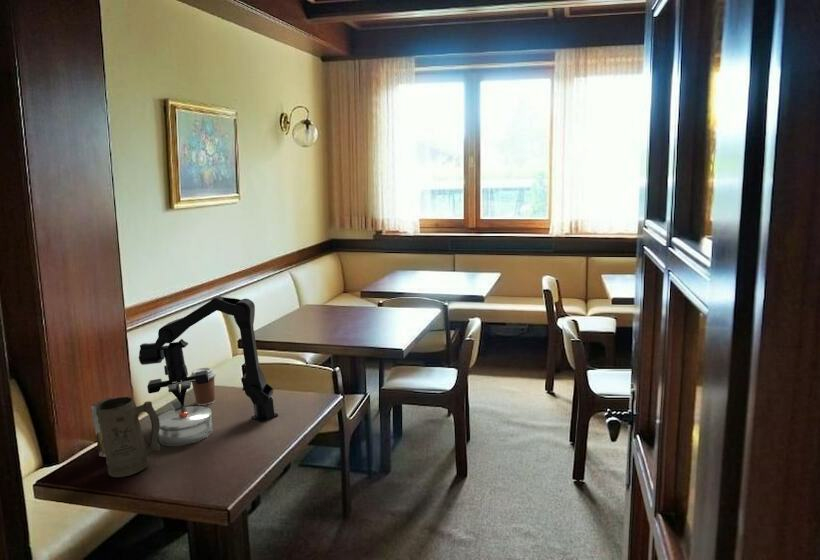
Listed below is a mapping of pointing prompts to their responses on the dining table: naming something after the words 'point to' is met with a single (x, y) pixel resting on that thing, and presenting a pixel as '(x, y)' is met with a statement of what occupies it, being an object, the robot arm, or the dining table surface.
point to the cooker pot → (185, 434)
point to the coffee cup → (204, 388)
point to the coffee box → (98, 428)
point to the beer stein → (126, 435)
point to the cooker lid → (184, 417)
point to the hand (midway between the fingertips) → (183, 406)
